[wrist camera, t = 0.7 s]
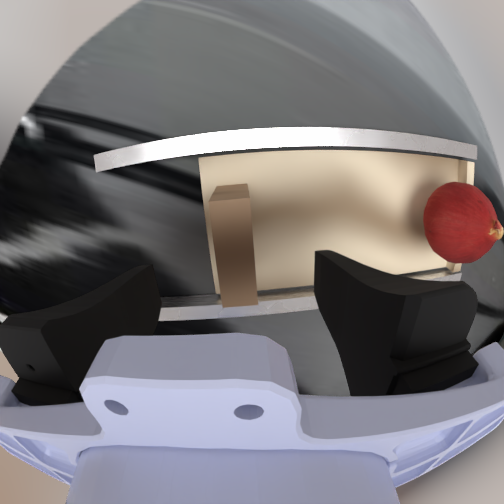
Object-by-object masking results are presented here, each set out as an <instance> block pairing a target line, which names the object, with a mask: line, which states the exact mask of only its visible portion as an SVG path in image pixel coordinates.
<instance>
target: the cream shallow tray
mask: <svg viewBox="0 0 504 504" xmlns="http://www.w3.org/2000/svg"><path fill="white" fill-rule="evenodd" d="M199 168H200V177H201V187H202V195H203V204H204V212H205V220H206V228H207V235H208V243H209V250H210V257H211V264H212V271H213V277H214V284H215V290H216V294H221V300H222V307H223V308H227V307H240V306H252V305H258V296H257V291H258V290H269V289H280V288H290V287H300V286H309V285H314V262H315V251H319V250H331V251H334V252H337V253H339V254H341V255H344V256H346V257H348V258H350V259H353V260H355V261H357V262H359V263H362V264H364V265H367V266H369V267H372V268H375V269H378V270H381V271H384V272H387V273H391V274H394V275H397V274H404V273H411V272H417V271H424V270H430V269H436V268H442V267H447V268H448V269H449V270H451V271H452V272H458V271H460V269H461V264H462V263H459V264H455V263H451V262H448V261H446V260H445V259H443V258H442V257H440V256H439V255H437V254H436V253H435V252H433V250H432V248H431V247H430V245H429V243H428V240H427V238H426V236H425V231H424V223H423V214H424V209H425V206H426V204H427V201H428V198H429V197H430V196H431V194H432V193H433V192H434V191H435V190H436V189H437V188H438V187H440V186H442V185H444V184H446V183H449V182H461V183H467V184H471V185H473V182H474V162H470V161H465V160H459V159H453V158H445V157H438V156H429V155H420V154H410V153H398V152H383V151H362V150H289V151H268V152H252V153H239V154H228V155H218V156H209V157H201V158H199Z"/></svg>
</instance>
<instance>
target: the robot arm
mask: <svg viewBox="0 0 504 504" xmlns="http://www.w3.org/2000/svg"><path fill="white" fill-rule="evenodd" d="M314 295H315V298H316V302H317V305H318V308H319V310H320V312H321V315H322V317H323V319H324V321H325V323H326V325H327V327H328V329H329V331H330V333H331V336H332V338H333V340H334V342H335V344H336V347H337V349H338V352H339V355H340V358H341V361H342V364H343V368H344V371H345V375H346V379H347V382H348V386H349V390H350V395H351V396H315V395H299V393H298V388H297V384H296V379H295V375H294V370H293V366H292V363H291V360H290V358H289V355H288V353H287V350H286V348H284V347H283V346H281V345H279V344H278V343H276V342H274V341H273V340H271V339H270V338H268V337H266V336H261V335H252V334H244V333H224V334H205V335H176V336H153V334H154V331H155V329H156V326H157V323H158V320H159V316H160V311H161V306H162V301H161V298H160V294H159V290H158V286H157V282H156V278H155V274H154V270H153V265H140V266H137V267H135V268H133V269H131V270H129V271H127V272H125V273H123V274H122V275H120V276H118V277H116V278H115V279H113V280H111V281H110V282H108V283H106V284H104V285H102V286H101V287H99V288H97V289H95V290H93V291H91V292H89V293H87V294H85V295H83V296H81V297H78V298H76V299H74V300H71V301H68V302H65V303H62V304H60V305H57V306H53V307H50V308H46V309H42V310H38V311H33V312H26V313H20V314H12V315H9V316H8V317H7V318H6V320H5V321H4V322H3V323H2V324H1V325H0V348H1V350H2V352H3V354H4V355H5V357H6V358H7V360H8V362H9V363H10V365H11V366H12V368H13V369H14V371H15V372H16V374H17V375H18V377H19V380H18V381H17V383H15V382H14V381H13V380H11V379H9V378H7V377H4V376H1V375H0V445H1V446H2V447H3V448H4V449H5V450H6V451H8V452H9V453H10V454H12V455H14V456H15V457H17V458H19V459H21V460H23V461H24V462H26V463H27V464H29V465H31V466H33V467H35V468H36V469H38V470H40V471H42V472H44V473H46V474H47V475H50V476H51V477H53V478H56V479H58V480H59V481H61V482H64V483H66V484H68V485H70V489H69V493H68V496H67V500H66V504H400V502H399V498H398V495H397V492H396V489H395V488H396V487H398V486H400V485H403V484H405V483H407V482H409V481H411V480H413V479H415V478H417V477H419V476H421V475H423V474H425V473H427V472H428V471H430V470H432V469H434V468H436V467H437V466H439V465H441V464H442V463H444V462H446V461H447V460H449V459H451V458H452V457H454V456H455V455H457V454H459V453H460V452H461V451H463V450H465V449H466V448H468V447H469V446H471V445H472V444H474V443H475V442H477V441H478V440H479V439H481V438H482V437H484V436H485V435H487V434H488V433H489V432H491V431H492V430H493V429H495V428H496V427H497V426H498V425H499V424H500V423H501V422H502V420H503V419H504V349H503V348H502V347H501V346H500V345H499V344H498V343H497V342H494V343H492V344H490V345H488V346H486V347H484V348H482V349H480V350H478V351H477V352H476V353H475V354H474V355H473V356H472V355H471V354H470V352H469V351H468V350H469V349H470V347H471V345H470V343H469V342H468V341H467V340H466V337H467V335H468V333H469V330H470V328H471V325H472V323H473V320H474V317H475V314H476V311H477V301H478V299H477V295H476V292H475V291H474V290H473V288H471V287H470V286H469V285H468V284H466V283H465V282H464V281H432V280H421V279H414V278H409V277H403V276H399V275H394V274H391V273H387V272H384V271H381V270H378V269H375V268H372V267H369V266H367V265H364V264H362V263H359V262H357V261H355V260H353V259H350V258H348V257H346V256H344V255H341V254H339V253H337V252H334V251H331V250H319V251H315V262H314Z"/></svg>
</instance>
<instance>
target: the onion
mask: <svg viewBox="0 0 504 504" xmlns="http://www.w3.org/2000/svg"><path fill="white" fill-rule="evenodd" d="M423 223H424V231H425V236H426V238H427V240H428V243H429V245H430V247H431V248H432V250H433V252H435V253H436V254H437V255H439V256H440V257H442V258H443V259H445V260H446V261H448V262H451V263H455V264H459V263H472V262H474V261H476V260H478V259H479V258H481V257H482V256H483V255H484V254H485V253H487V252H488V251H489V250H490V249H491V247H492V246H493V245H494V243H495V242H496V240H498V239H500V238H501V237H502V235H503V232H504V231H503V227H502V225H501V224H500V223H499V221H498V220H497V216H496V213H495V210H494V208H493V206H492V204H491V202H490V200H489V199H488V198H487V197H486V196H485V195H484V194H483V193H482V192H481V191H480V190H479V189H478V188H476V187H475V186H473V185H471V184H467V183H461V182H449V183H446V184H444V185H442V186H440V187H438V188H437V189H436V190H435V191H434V192H433V193H432V194H431V196H430V197H429V198H428V201H427V204H426V206H425V209H424V214H423Z"/></svg>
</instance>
